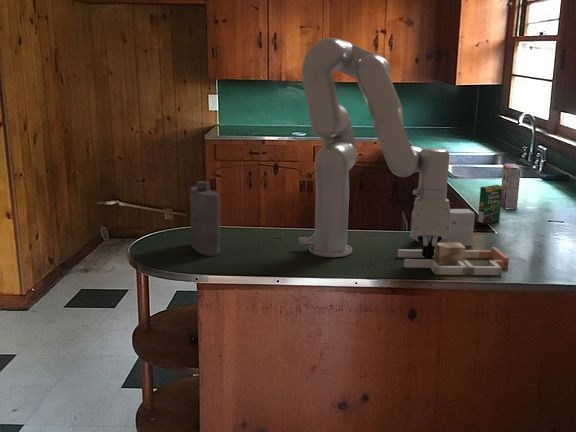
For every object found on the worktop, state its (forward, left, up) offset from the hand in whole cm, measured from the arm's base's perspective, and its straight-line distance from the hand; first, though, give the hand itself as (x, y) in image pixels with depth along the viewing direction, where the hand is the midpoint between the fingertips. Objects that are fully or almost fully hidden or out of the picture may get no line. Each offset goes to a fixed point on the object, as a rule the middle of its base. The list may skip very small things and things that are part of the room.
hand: (427, 258), depth 172 cm
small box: (+14, +19, -1) cm, 23 cm away
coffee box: (+33, +47, -1) cm, 58 cm away
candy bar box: (+50, +74, -1) cm, 89 cm away
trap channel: (+7, -3, -1) cm, 7 cm away
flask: (-63, +10, -1) cm, 64 cm away
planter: (+4, +22, -1) cm, 22 cm away
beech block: (+6, 0, -1) cm, 6 cm away
